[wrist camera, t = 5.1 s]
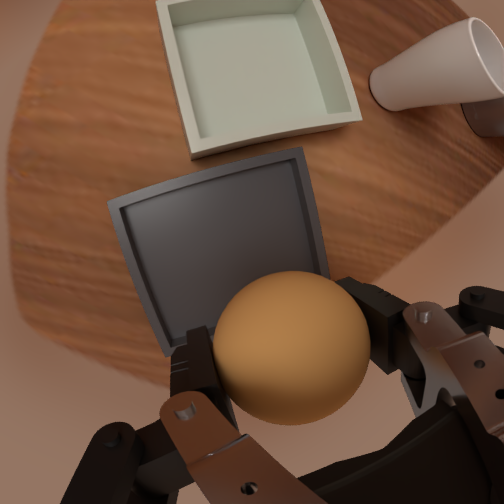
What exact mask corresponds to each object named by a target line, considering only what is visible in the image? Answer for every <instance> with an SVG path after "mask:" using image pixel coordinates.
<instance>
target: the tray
mask: <svg viewBox="0 0 504 504" xmlns="http://www.w3.org/2000/svg"><path fill="white" fill-rule="evenodd" d="M107 205H108V208H109V212H110V215H111V218H112V222H113V225H114V228H115V231H116V234H117V237H118V240H119V243H120V246H121V249H122V252H123V255H124V258H125V261H126V264H127V266H128V269H129V272H130V275H131V277H132V280H133V283H134V285H135V288H136V290H137V293H138V295H139V298H140V300H141V303H142V305H143V308H144V310H145V313H146V315H147V317H148V320H149V322H150V324H151V327H152V329H153V331H154V333H155V336H156V338H157V340H158V342H159V344H160V347H161V349H162V351H163V353H164V355H165V357H169V356H171V355H172V354H173V352H174V350H175V349H176V347H178V346H182V345H186V344H187V335H186V331H187V330H190V329H193V328H197V327H200V326H203V325H206V327H207V329H208V332H209V335H210V338H211V340H212V343H213V339H214V334H215V329H216V326H217V323H218V320H219V318H220V316H221V314H222V312H223V311H224V309H225V308H226V306H227V305H228V303H229V302H230V301H231V299H232V298H233V297H234V296H235V295H236V294H237V293H238V292H239V291H240V290H242V289H243V288H244V287H246V286H247V285H248V284H250V283H251V282H253V281H255V280H257V279H259V278H261V277H264V276H267V275H270V274H274V273H278V272H285V271H302V272H309V273H314V274H317V275H320V276H323V277H325V278H327V279H329V280H330V274H329V268H328V263H327V257H326V252H325V247H324V241H323V236H322V231H321V226H320V221H319V217H318V212H317V207H316V203H315V198H314V194H313V189H312V185H311V180H310V176H309V172H308V168H307V164H306V160H305V156H304V152H303V148H302V147H297V148H292V149H287V150H283V151H278V152H273V153H269V154H264V155H260V156H256V157H252V158H247V159H243V160H239V161H235V162H231V163H228V164H224V165H220V166H216V167H213V168H209V169H205V170H202V171H198V172H195V173H191V174H188V175H184V176H181V177H178V178H175V179H171V180H168V181H165V182H162V183H159V184H155V185H152V186H149V187H146V188H143V189H140V190H137V191H135V192H132V193H129V194H126V195H123V196H120V197H117V198H115V199H112V200H109V201H107Z"/></svg>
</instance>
